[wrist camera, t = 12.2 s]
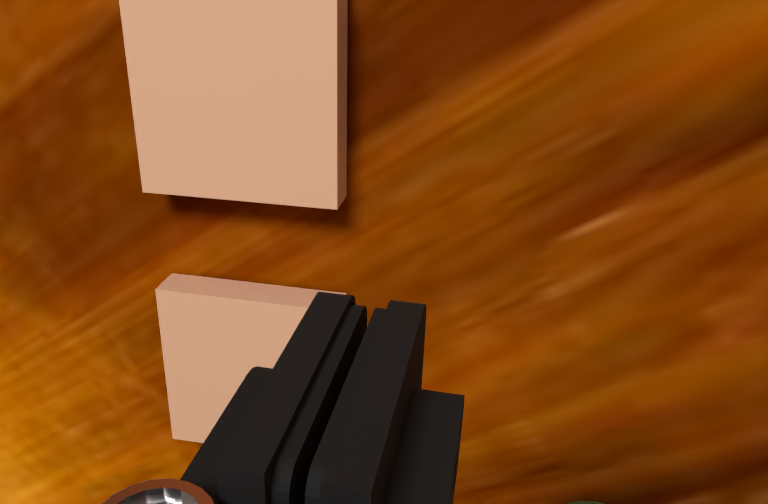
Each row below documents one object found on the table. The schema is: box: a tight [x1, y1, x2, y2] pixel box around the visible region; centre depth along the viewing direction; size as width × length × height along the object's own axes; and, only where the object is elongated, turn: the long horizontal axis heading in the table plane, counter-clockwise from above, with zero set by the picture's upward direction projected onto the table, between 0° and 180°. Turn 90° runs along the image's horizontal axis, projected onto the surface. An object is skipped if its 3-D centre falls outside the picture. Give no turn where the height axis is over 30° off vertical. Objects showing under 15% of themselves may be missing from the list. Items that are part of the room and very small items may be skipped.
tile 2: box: [155, 273, 347, 443], centre depth 36 cm, size 9×2×9 cm
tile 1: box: [119, 0, 348, 210], centre depth 30 cm, size 9×2×9 cm
